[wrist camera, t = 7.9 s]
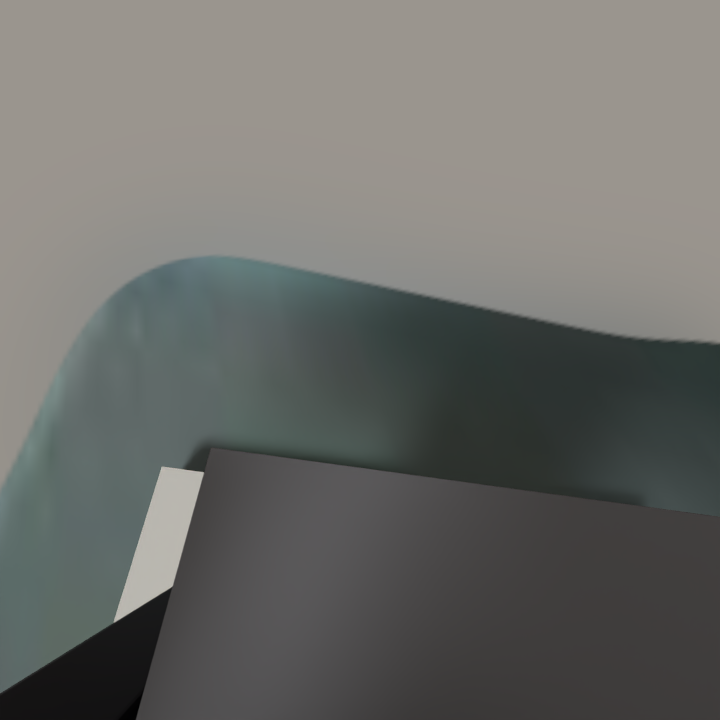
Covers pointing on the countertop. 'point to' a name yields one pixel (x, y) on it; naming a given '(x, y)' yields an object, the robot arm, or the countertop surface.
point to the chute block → (432, 602)
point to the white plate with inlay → (161, 538)
